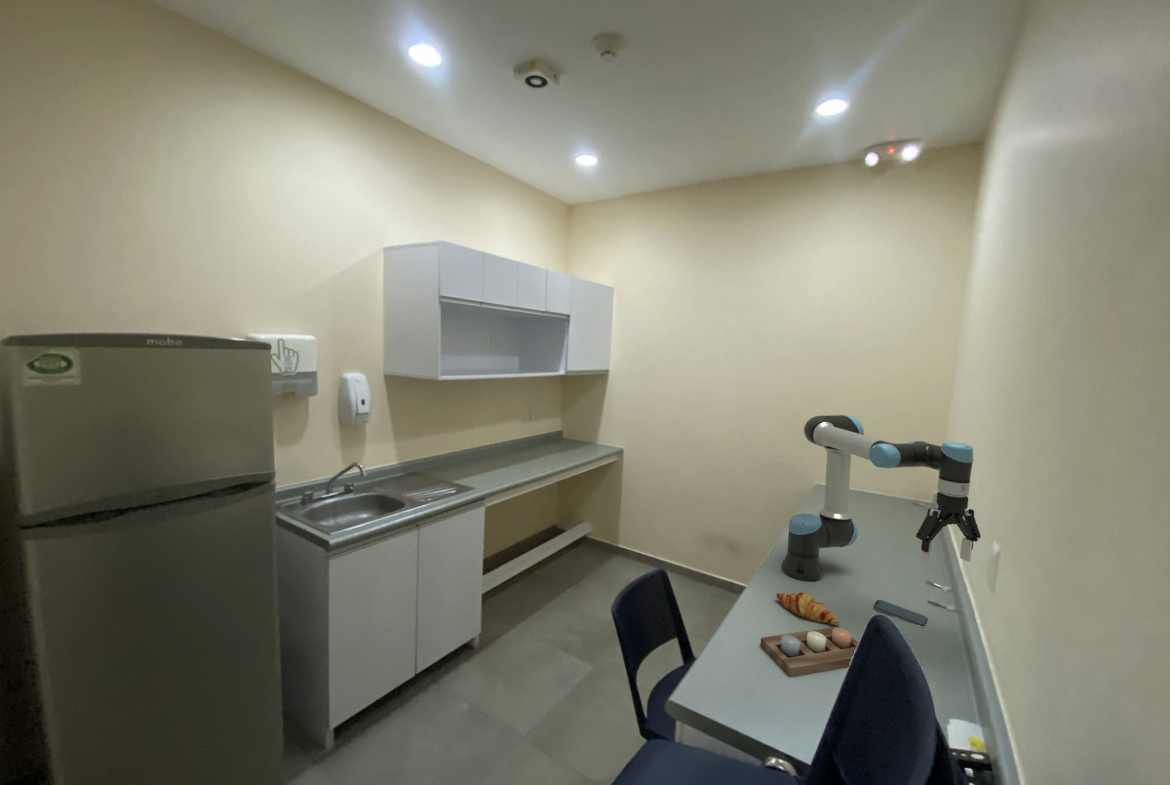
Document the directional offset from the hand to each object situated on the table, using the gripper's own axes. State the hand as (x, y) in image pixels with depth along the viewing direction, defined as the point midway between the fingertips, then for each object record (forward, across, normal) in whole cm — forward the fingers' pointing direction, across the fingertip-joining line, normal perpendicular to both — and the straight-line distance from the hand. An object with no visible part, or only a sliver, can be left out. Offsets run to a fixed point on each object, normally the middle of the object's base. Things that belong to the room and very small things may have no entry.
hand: (945, 560), depth 144 cm
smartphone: (+28, +1, +16) cm, 32 cm away
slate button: (+25, -51, -1) cm, 57 cm away
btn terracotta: (+25, -33, +1) cm, 41 cm away
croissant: (+28, -32, +20) cm, 46 cm away
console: (+27, -42, 0) cm, 50 cm away
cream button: (+25, -42, 0) cm, 49 cm away
